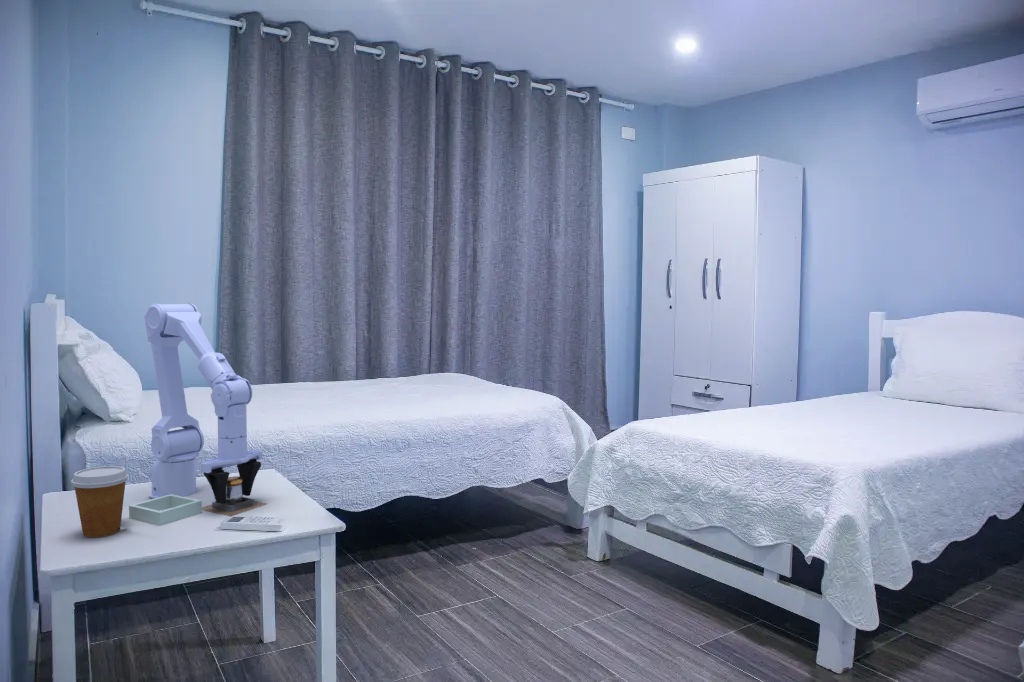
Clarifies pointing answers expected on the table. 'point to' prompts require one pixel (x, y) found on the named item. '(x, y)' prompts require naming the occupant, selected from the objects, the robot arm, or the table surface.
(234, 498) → the metal can
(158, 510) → the bin
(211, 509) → the socket plate
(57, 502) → the table surface
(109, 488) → the disposable coffee cup
